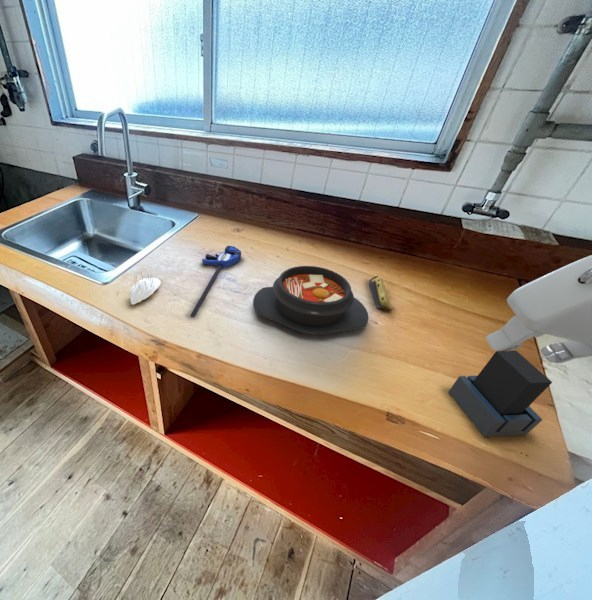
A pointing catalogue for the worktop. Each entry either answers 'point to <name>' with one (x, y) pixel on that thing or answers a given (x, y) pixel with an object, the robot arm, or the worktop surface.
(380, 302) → the yellow-green lumpy piece
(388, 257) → the worktop surface
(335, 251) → the worktop surface
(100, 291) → the worktop surface
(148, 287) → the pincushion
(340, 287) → the casserole
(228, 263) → the bar clamp
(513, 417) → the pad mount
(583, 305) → the robot arm
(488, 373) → the back pad
